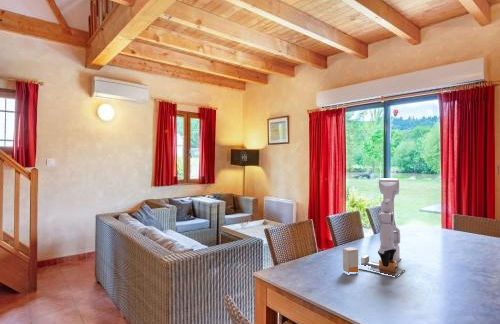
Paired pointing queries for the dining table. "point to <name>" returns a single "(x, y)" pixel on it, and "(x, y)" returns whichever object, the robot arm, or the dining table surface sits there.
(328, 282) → the dining table surface
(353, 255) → the skincare box
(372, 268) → the plate
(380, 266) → the lock block
